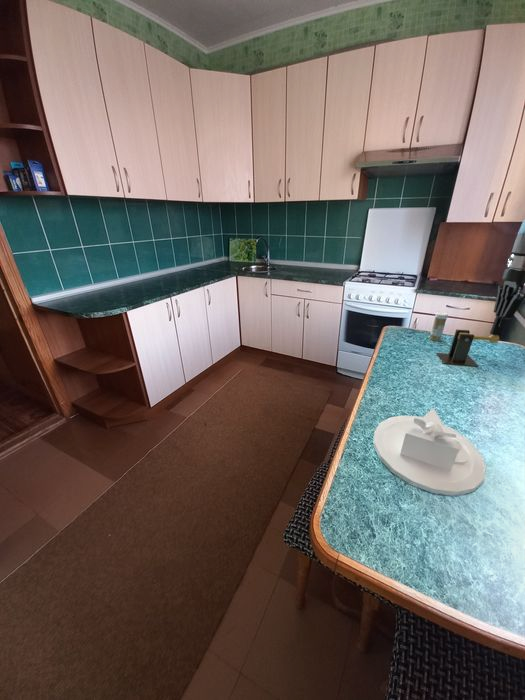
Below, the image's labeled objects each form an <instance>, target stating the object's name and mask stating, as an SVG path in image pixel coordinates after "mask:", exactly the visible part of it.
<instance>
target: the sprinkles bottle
mask: <svg viewBox="0 0 525 700" xmlns="http://www.w3.org/2000/svg"><path fill="white" fill-rule="evenodd" d="M448 317H449V314H448V313H447V312H445V311H436V312H435V316H434V321H433V324H432V328H431V331H430V335H429V340H430V341H432V342H440V341H441V339H442V336H443V333H444V329H445V326H446V322H447V319H448Z"/></svg>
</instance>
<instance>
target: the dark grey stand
mask: <svg viewBox="0 0 525 700" xmlns="http://www.w3.org/2000/svg"><path fill="white" fill-rule="evenodd" d="M470 332H471V330H470V329H455V332H454V336H453V338H452V342H451V345H450V348H449V352H448V353H446V352H445V353H444V352H436V353H435V354H436V356H437V358H438V359H439V361H440V362H441V364H442V365H448V366H460V367H469V368H470V367H471V368H479V365H478V364H477V363H476V361H475V360H474V359H473V358H472V357H471V356H470V355H469V353H470V350H471V347H472V344H473V341H474V339H473V338H474V336H475V334H474V333H470ZM459 333H468V334H460V336H459V339H458V335H459Z"/></svg>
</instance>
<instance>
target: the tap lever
mask: <svg viewBox="0 0 525 700" xmlns="http://www.w3.org/2000/svg"><path fill="white" fill-rule="evenodd" d="M460 334H468V333H459V335H458V339H459V336H460ZM473 340H479V341H489V343H491V344H496V343H498V342H500V335H492V334H490V335H489V336H484V335H474V338H473Z"/></svg>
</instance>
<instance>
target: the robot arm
mask: <svg viewBox="0 0 525 700" xmlns="http://www.w3.org/2000/svg"><path fill="white" fill-rule="evenodd" d="M513 243H514V244H513V247H512V250H511V252H510V255H509V257H508V258H507V263H506V268H505V269H504V271H503V274H502V277H501V279H502V280H503V281H504V282H503V284H498V286H497V295H496V298H495V303H494V308H493V313H495V318H494V321H493V324H492V326H491V328H490V332H489V334H490V335H498V336H501V334H502V332H503V330H504V327H505V324H506V322H507V320H512V319H513V318H514V316H515V314H516V313H517V310H518V309H519V308H520V305H521V304H522V302H523V301H524V300H525V293H523V292H524V289H525V219H523V221H522V223H521V225H520V227H519V230H518V232H517V235H516V238H515V240H514V242H513Z"/></svg>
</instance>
